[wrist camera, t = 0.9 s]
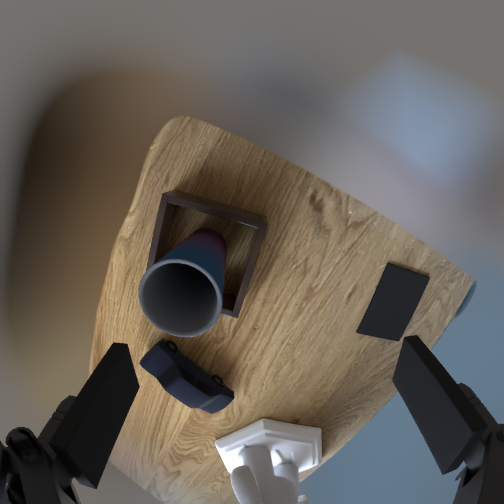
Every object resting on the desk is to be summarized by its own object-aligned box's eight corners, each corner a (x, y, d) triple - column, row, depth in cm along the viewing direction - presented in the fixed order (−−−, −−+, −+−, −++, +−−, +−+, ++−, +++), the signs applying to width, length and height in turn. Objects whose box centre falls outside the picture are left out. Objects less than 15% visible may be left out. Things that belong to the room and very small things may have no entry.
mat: (387, 262, 37) (388, 263, 37) (428, 276, 38) (430, 278, 37) (356, 331, 40) (357, 333, 40) (397, 340, 41) (398, 341, 40)
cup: (220, 282, 38) (202, 349, 24) (172, 259, 37) (129, 315, 23) (243, 235, 36) (237, 282, 22) (192, 211, 35) (153, 243, 21)
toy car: (163, 332, 40) (154, 351, 36) (237, 387, 43) (236, 410, 38) (142, 353, 41) (132, 372, 37) (213, 404, 44) (210, 426, 40)
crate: (173, 189, 35) (162, 193, 30) (266, 216, 36) (268, 223, 31) (153, 276, 38) (142, 290, 34) (239, 302, 39) (237, 318, 35)
